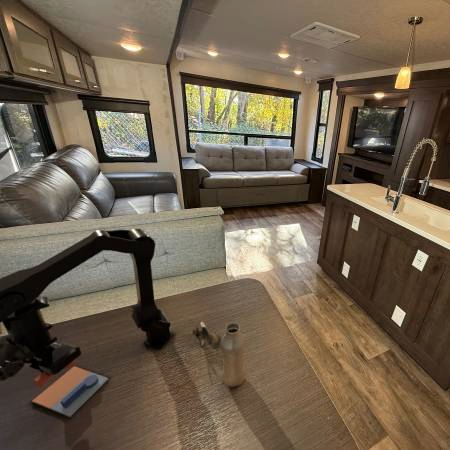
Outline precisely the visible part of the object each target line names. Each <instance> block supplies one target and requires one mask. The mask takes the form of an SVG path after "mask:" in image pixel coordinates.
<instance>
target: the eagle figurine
mask: <svg viewBox="0 0 450 450" xmlns="http://www.w3.org/2000/svg"><path fill="white" fill-rule="evenodd" d="M200 327H201V329H200V330H199V327H198V326H197V325H196V326H195V328H196V329H192V332H189V333H188V332H187V335H188V336H195V337H196V338H200V347H203V345H204V344H205V340H206V342H207V343H208V344H209V345H212V347H213V348H217V347H219V346H220V342H221V337H220V336H219V334H217V333H216V331H213V330H210V329H207V327H206V324H205V323H204V322H203V321H201V322H200Z"/></svg>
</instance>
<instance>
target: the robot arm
mask: <svg viewBox="0 0 450 450" xmlns="http://www.w3.org/2000/svg"><path fill="white" fill-rule="evenodd" d="M103 251H106V252H107V251H111V252H117V253H121V254H129V256H130V258H131V261H132V267H133V272H134V281H135V289H136V297H137V298H136V299H137V302H136V304H135V305H131V306H130V309H131V311H132V313H131V318H132V320H133V321H134V323H135V325H136V328H137V329H140V330H141V331H142V332H144V333H145V336H146V338H147V339H145V341H143V344H144V345H146V346H149V347H151V348H155V349H158V350H161V349H162V348H163V347H164V346H165V345H166V344H167V343H168V342H169V341H170V340H171V339H172V338H173V337H174V335H175V333H174V332H172V331H170V327H171V322H170V321H169V319H168V317H167V316H166V314H165V313H164V312H163V310H162V309H160V308H158V307H157V304H156V302H155V292H154V282H153V271H152V261H153V258H154V256H155V251H156V241H155V240H154V239H153V237H152V236H151V235H150V234H149V233H147V231H146V230H144V229H142V228H133V229H113V230H105V229H98V230H97V229H96V230H94V231H93V232H92V233H91V234H89V235H88V236H86V237H84V238H83V239H80V241H78V242H76V243H74V244H72V245H71V246H69V247H66V248H65V249H64V250H62V251H60V252H59V253H57V254H54V255H53V256H51V257H50V258H47V259H46V260H44V261H42V262H41V263H39V264H37V265H34V266H32V267H28V268H23V269H20V270H17V271H15V272H12V273H10V274H8V275H5V276H3V277H0V335H2V334H3V329H2V325H3V326H4V329H5V331H6V332H7V335H6V336H4V337H3V338H0V382H5V381H6V380H7V379H9V378H13V377H15V376H16V375H17V374H18V373H19V372H20V371H21V370H22V369H23V368H24V367H25V364H29V366H28V368H31V369H34V370H37V371H39V373H41V374H42V373H43V372H44V373H45V374H46V375H47V376H50V375H54V374H56V375H58V374H59V373H60V372H61V371H62V370H65V369H66V368H65V367H66V366H67V365H69V364H70V363H71V362H72V361H74V360H75V361H76V360H77V358H79V357H80V356H81V355H82V350H81V347H80V346H78V345H74V344H72V343H69V342H68V343H67V342H65V343H62V344H60V343H57V341H58V338H57V336H54V335H52V334H51V332H50V330H51V329H53V326H52V323H49V322H46V321H45V318H44V316H43V313H42V311H41V310H43V309H46V308H49V307H50V298H49V297H48V296H41V295H42V293H43V292H44V291H45V290H46V289H47V288H48V287H49V286H50V285H51V284H52V283H53V282H54V281H56V280H58V279H59V278H61V277H63V276H65V275H66V274H67V273H69V272H71V271H72V270H74V269H76V268H78V267H79V266H81V265H82V264H84V263H86V262H87V261H89V260H90V259H92V258H93V257H95V256H97V255H98V254H100V253H102V252H103ZM1 323H2V325H1ZM64 368H65V369H64Z"/></svg>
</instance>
